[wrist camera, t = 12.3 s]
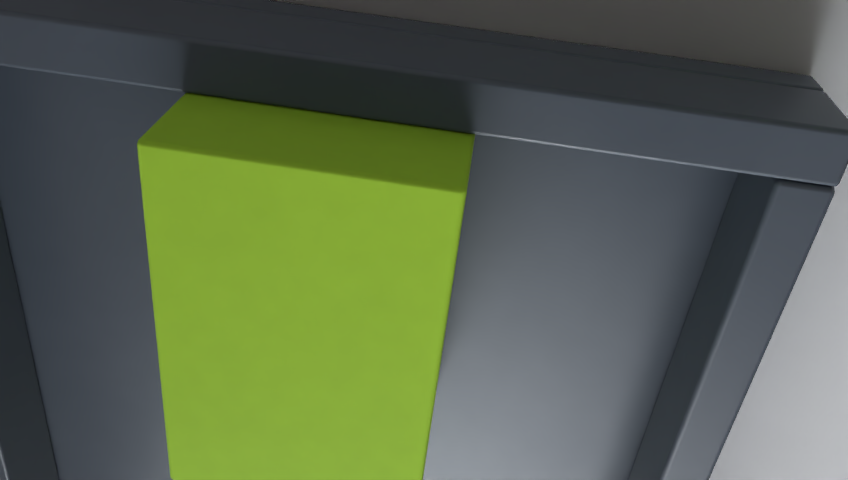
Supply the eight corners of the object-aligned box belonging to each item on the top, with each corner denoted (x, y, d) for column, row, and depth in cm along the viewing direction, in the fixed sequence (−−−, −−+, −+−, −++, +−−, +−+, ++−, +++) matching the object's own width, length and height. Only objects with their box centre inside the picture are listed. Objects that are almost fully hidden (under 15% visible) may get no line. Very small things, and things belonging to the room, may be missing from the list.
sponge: (436, 391, 15) (416, 522, 12) (229, 358, 15) (168, 481, 13) (481, 94, 12) (467, 189, 9) (218, 57, 12) (133, 140, 9)
